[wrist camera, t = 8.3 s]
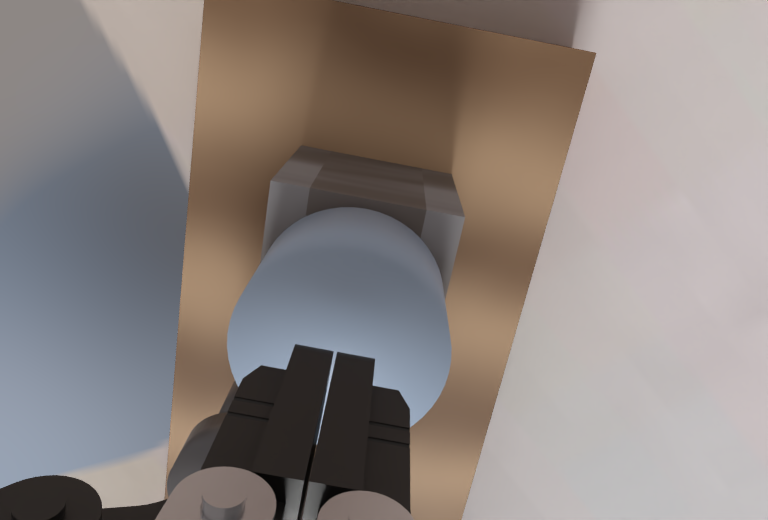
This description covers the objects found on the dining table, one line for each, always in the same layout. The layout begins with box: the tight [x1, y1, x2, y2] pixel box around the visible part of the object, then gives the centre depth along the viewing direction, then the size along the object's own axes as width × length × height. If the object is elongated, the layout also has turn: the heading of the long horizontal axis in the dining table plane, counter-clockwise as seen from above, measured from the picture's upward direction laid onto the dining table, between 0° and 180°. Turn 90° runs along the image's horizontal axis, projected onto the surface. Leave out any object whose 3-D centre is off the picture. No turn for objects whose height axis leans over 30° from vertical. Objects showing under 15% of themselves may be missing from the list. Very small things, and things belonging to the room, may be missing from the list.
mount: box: [165, 0, 596, 520], centre depth 23 cm, size 26×12×8 cm, turn 169°
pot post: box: [167, 381, 238, 497], centre depth 20 cm, size 3×3×7 cm
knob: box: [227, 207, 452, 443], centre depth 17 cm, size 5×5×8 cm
